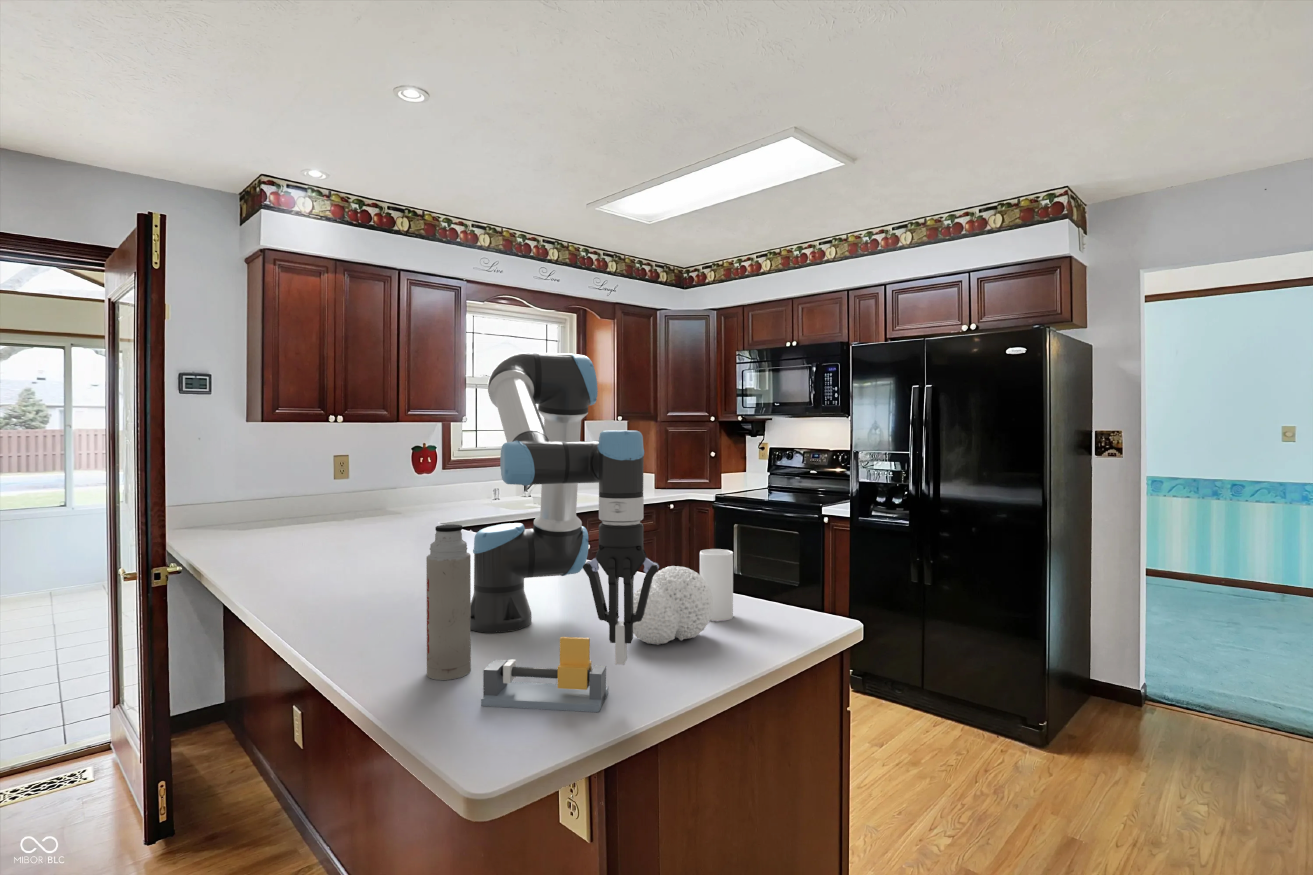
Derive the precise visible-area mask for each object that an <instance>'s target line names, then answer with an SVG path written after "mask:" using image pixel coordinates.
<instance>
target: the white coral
mask: <svg viewBox="0 0 1313 875" xmlns="http://www.w3.org/2000/svg"><path fill="white" fill-rule="evenodd" d="M641 589H642V586H640V587H639V588H638V589H636V590H635V592H633V613H636V610H637V606H638V602H639V598H640V594H641ZM712 611H713V597H712V594H711V590H710V589H709V586H708V585H707V583H706V581H705V580H704V579H703V578H702V577H701V576H700V573H698V572H696V571H695V570H693V569H690V567H685V566H679V565H677V566H675V565H671V566H667V567H666V566H665V567H664V568H661V569H660V570H659V569H658V570H657V572H656V573H655V575H654V576H653V579H652V583H651V588H650V592H649V596H648V600H647V604H646V608H645V612H644V616H643V618H642V620H641V621H639V622H635V623H633V635H634V636H635V637H636V639H639V640H640V641H642V642H643V643H644V642H645V643H646V644H648V645H649V644H650V645H651V644H652V645H657V646H659V645H661V644H662V645H665V644H667V643H668V642H670V641H673V640H674V639H675V638H676V639H677V638H678V640H679V641H683V640H687V639H691V638H693V639H694V638H696V637H697V636H699V635H700V634H701V632H703V631H704V630H705V629H706V627H707V626H708V625H709V622H710V619H711V617H712Z"/></svg>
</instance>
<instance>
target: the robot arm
mask: <svg viewBox="0 0 1313 875" xmlns="http://www.w3.org/2000/svg"><path fill="white" fill-rule="evenodd" d="M487 392H488V396H489V399H490V401H491V403H492V404H493V405H494V406H495V408H497V412H498V414H499V418H500V422H501V425H502V429H503V432H504V436H505V439H506V440H505V441H506V442H504V443H503V444H502V446H501V449H500V458H499V459H500V460H499V461H500V462H499V463H500V465H499V466H500V477H501V479H502V481H503V483H505V484H507V485H517V486H518V485H519V486H525V487H526V486H529V485H534V486H537V485H541V488H540V489H541V492H540V512H539V513H540V514H539V515H538V516H536V517H535V519H533V528H525V525H524V524H523V523H521V522H514V523H510V522H509V523H501V524H496V525H491V526H487V527H484V528H482V529H479V531H477V532H476V533H475V534H474V538H473V549H472V554H473V594H472V596H471V597H472V598H471V618H470V631H474V632H478V633H490V634H492V633H494V634H495V633H496V634H497V633H506V632H507V633H508V632H513V631H518V630H521V629H524V628H526V627H528V626H530V625H531V624H532V621H533V620H532V617H533V616H532V609H531V606H530V605H529V602H528V601H529V600H528V598H527V595H526V592H525V579H530V578H544V577H557V576H560V577H565V576H567V575H568V576H569V575H575V574H578V573H580V572H581V571H582V570H583V571H584V573H585V574H586V576H587V577H588V580H589V585H590V588H591V592H592V597H593V601H594V604H595V605H594V606H595V610H596V614H597V618H598V620H599V621H604V622H607V623H608V625H609V626H608V629H609V630H608V636H609V638H608V639H609V643H610V644H615V647H614V648H615V651H614V652H615V655H614V656H615V661H614V662H615V663H614V664H615V665H616V666H617V665H618V666H620V665H621V666H625V665H626V662H627V660H628V644H630V645H631V644H632V642H633V639H634V634H633V623H635V622H639V621H641V620H642V618H643V616H644V612H645V608H646V604H647V600H648V596H649V592H650V588H651V583H652V579H653V576H654V575H655V574H656V573H657V572H658V571H659V568H660V565H659V563H658V562H654V561H652V560H651V559H649V558H648V556H647V553H646V550H645V548H644V524H643V523H642V522H641V521H642V520H644V508H645V507H644V465H645V464H644V463H645V462H644V456H645V449H644V436H643V434H642V432H641V431H640V430H639V431H638V430H602V431H601V432H600V433H599V435H598V440H592V441H590V440H589V441H581V430H582V429H581V427H582V420H583V419H584V418H585V417H586V416H587V415H588V414H589V406H593V405H595V404H596V402H597V401H598V400H597V399H598V392H599V391H598V379H597V373H596V370H595V366H594V363H593V362H592V360H591V359H590V358H589V357H588V356H587V355H584V354H577V353H575V354H574V353H567V352H566V353H563V352H562V353H561V352H560V353H557V352H555V353H554V352H532V351H529V352H526V351H524V352H518V353H514V354H511V355H510V356H508V357H506V358H504V359H503V360H502V361H500V362H499V363H498V364H497V365H496V366H495V367H494V369H493V370H492V372H491V373H490V375H489V378H488V382H487ZM537 406H538V407H537ZM541 416H542V417H543V419H542V417H541ZM543 420H544V422H543ZM594 483H595V484H598V519H599V520H600V521H601V523H599V525H598V548H597V551H596V554H595V557H594V558H593V559H591V560H588V561H587V559H588V554H589V546H590V545H589V544H590V543H589V534H588V530H587V528H586V527H585V526H583V522H582V520H581V519H580V518H579V516H577V501H578V484H594ZM642 565H643V566H644V567H643V572H644V573H645V576H644V577H643V581H642V586H641V587H642V589H641V594H640V598H639V602H638V606H637V610H636V613H633V594H634V580H635V576H636V575H637V573H638V571H639V570H640V568H642ZM599 566H600V567H601V569H602V570H603V571H604V573H605V574H606V575H607V577H608V579H607V582H608V607H607V603H606V598H605V594H604V590H603V585H602V582H601V576H600V574H599V570H600V567H599ZM620 578H622V579H623V620H619V619H620V616H619V581H620Z"/></svg>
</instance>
